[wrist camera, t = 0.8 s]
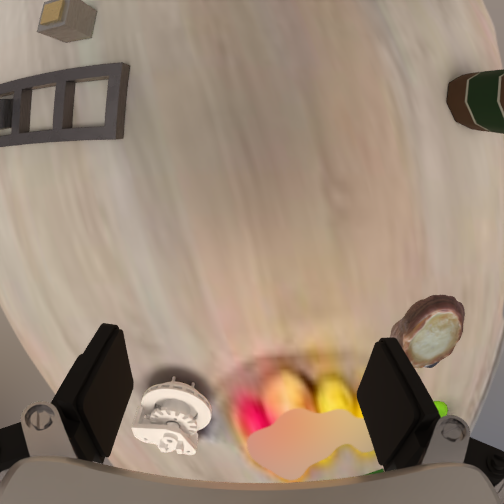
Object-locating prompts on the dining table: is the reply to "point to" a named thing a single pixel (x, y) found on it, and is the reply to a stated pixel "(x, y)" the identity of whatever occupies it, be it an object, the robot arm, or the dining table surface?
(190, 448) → the mechanical part
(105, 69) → the rail
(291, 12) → the dining table surface
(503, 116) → the beer bottle
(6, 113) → the grey tan rectangular block
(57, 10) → the brushed metal block
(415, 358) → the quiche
